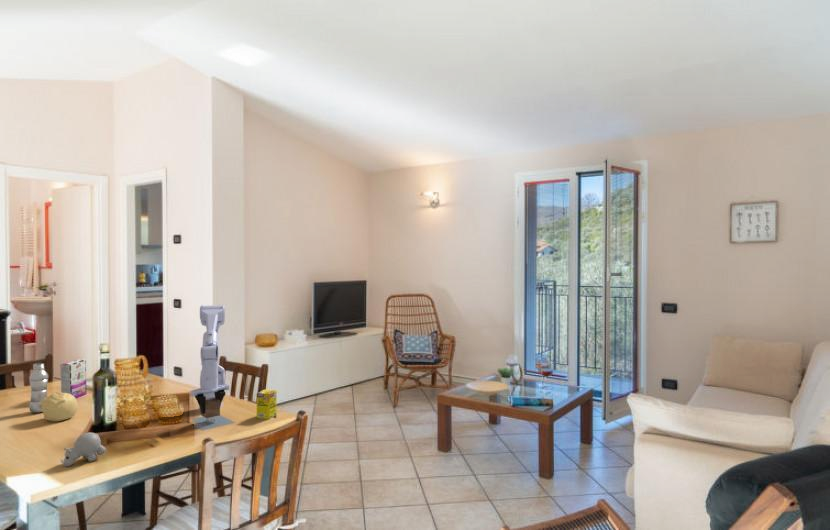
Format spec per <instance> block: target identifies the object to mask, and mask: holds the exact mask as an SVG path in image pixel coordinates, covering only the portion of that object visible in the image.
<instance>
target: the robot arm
mask: <svg viewBox="0 0 830 530" xmlns="http://www.w3.org/2000/svg"><path fill="white" fill-rule="evenodd" d="M225 318H226V307H225V305H224V304H217V305H215V304H213V305H203V304H202V305H201V306H200V307H199V320H200V324H201V325H202V326H203V327H205V328H206V331H204V332H203V336H202V346H201V347H200V361H201V362H200V363H201V364H200V365H201V366H202V367H201V370H200V376H199V388H197V389H191V390H190V391H189V393H190V394H189V396H190V397H194V398H195V400H196V402H197V403H198V406H199V407H198V409H199V410H200V414H201V413H202V414H204V413H205V400H206V399H208V398H213V397H214V398H217V399H219V400H220V409H221V408H222V407H223V399H224V398H225V396H226V391H229V390H230V385H229V384H227V383H226V370H225V368H224V367H223V366H221V365H220V364H219V359H220V347H219V329H220V328H221V326H222V325H224V324H225Z"/></svg>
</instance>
